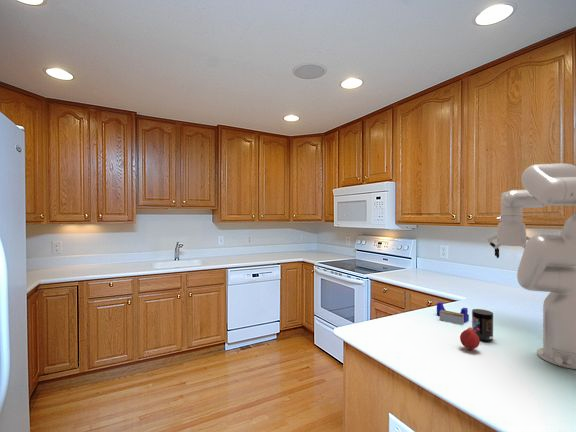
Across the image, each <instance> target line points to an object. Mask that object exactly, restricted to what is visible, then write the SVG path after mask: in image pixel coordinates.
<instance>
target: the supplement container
mask: <svg viewBox="0 0 576 432" xmlns="http://www.w3.org/2000/svg"><path fill="white" fill-rule="evenodd" d="M471 317H472V318H471V324H472V325H471V328H472V330H473V331H474V332H475V333H476V334H477V335H478V337H479V339H480V342H481V343H491V342H493V341H494V312H492V311H490V310H487V309H483V308H482V309H481V308H473V309H472V310H471Z"/></svg>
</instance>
